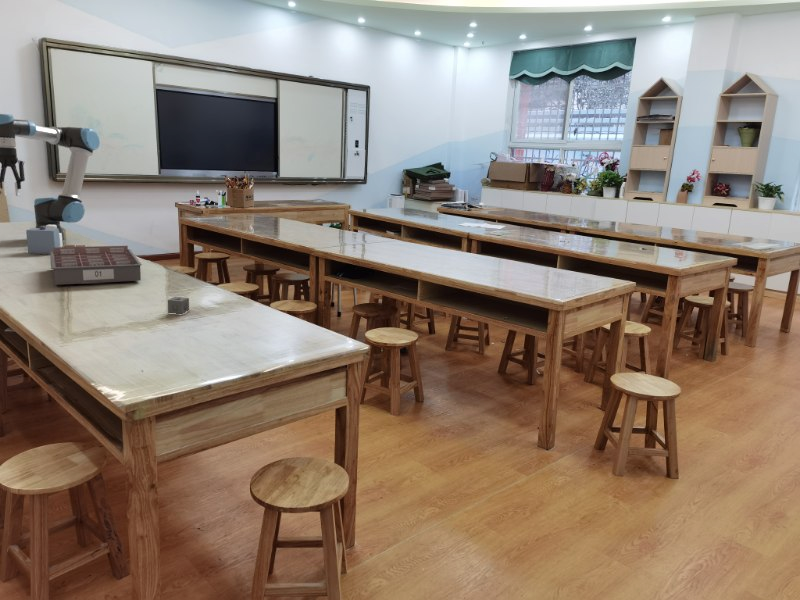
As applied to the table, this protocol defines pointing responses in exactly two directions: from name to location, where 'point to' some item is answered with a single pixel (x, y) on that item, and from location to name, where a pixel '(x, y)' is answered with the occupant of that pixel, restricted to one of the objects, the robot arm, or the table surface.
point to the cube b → (80, 246)
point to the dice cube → (178, 305)
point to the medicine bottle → (54, 226)
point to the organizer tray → (94, 264)
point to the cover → (42, 239)
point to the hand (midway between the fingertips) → (11, 195)
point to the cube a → (69, 246)
